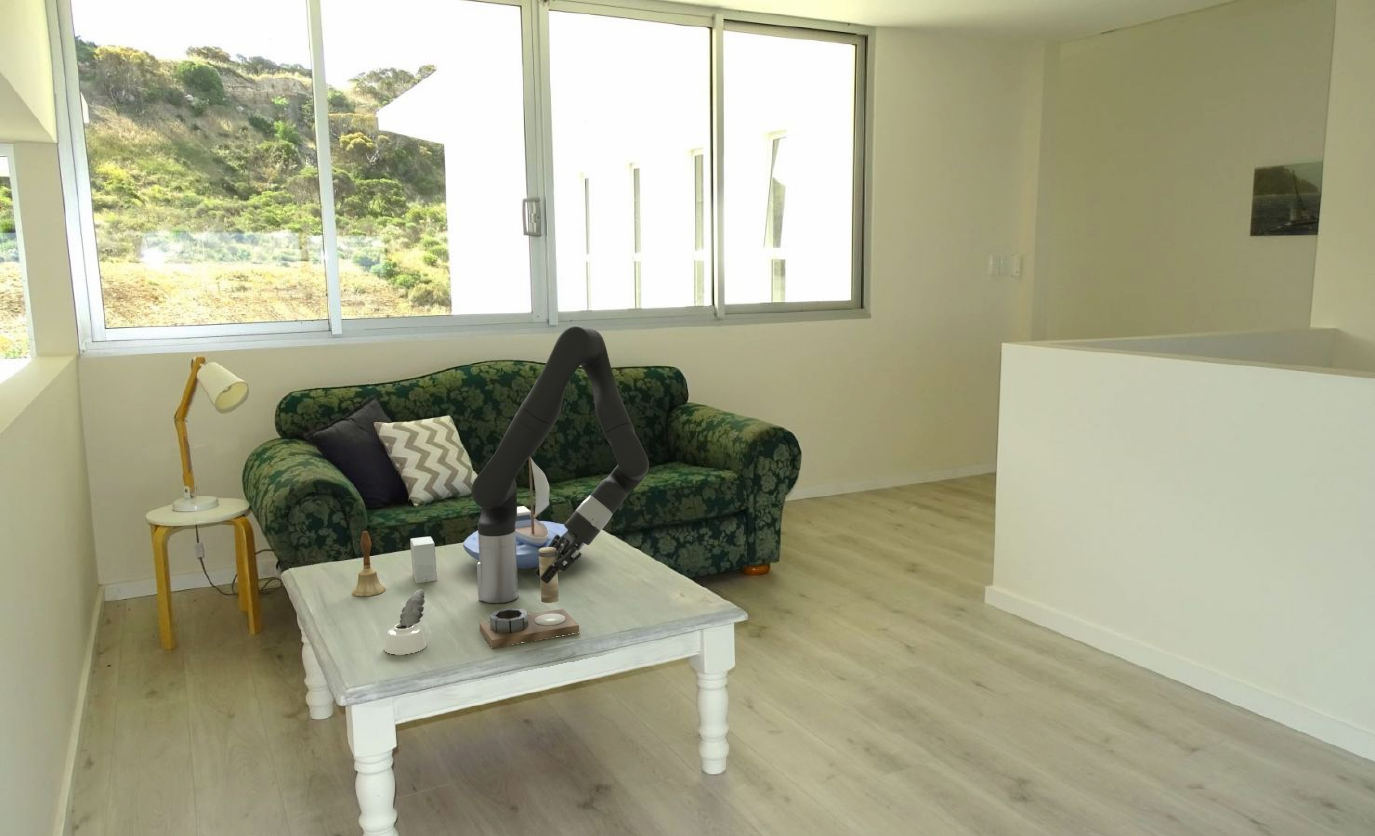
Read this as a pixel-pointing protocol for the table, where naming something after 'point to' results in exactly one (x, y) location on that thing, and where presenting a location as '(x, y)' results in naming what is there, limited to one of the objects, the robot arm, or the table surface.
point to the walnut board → (530, 630)
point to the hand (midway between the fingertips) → (540, 578)
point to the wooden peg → (551, 589)
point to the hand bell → (367, 572)
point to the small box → (423, 559)
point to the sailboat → (528, 526)
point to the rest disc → (549, 619)
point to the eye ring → (509, 620)
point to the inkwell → (407, 628)
